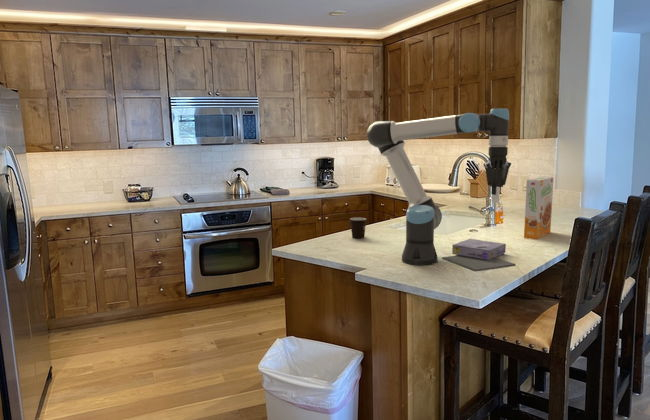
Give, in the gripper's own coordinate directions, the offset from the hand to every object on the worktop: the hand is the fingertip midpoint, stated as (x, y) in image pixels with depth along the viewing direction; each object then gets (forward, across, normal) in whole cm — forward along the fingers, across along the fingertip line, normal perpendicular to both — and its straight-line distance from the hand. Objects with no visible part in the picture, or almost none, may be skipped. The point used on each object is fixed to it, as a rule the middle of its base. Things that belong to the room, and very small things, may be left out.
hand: (495, 202), depth 212 cm
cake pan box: (+23, +4, +1) cm, 23 cm away
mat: (+25, -8, 0) cm, 26 cm away
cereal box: (+25, +55, +30) cm, 68 cm away
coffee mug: (+26, -31, +67) cm, 78 cm away
